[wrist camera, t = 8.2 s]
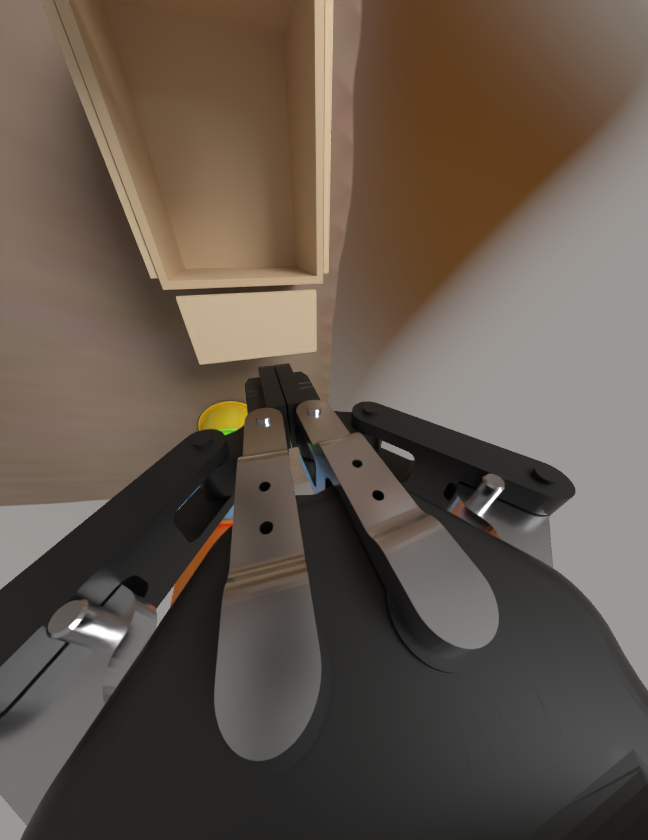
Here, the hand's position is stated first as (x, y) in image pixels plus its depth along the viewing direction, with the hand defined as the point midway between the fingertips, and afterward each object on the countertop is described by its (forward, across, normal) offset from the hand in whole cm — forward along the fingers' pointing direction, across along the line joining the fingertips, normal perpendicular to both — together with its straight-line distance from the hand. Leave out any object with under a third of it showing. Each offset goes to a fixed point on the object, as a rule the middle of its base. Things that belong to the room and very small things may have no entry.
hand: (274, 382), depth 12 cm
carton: (+24, 0, -10) cm, 26 cm away
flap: (+13, 0, -2) cm, 14 cm away
